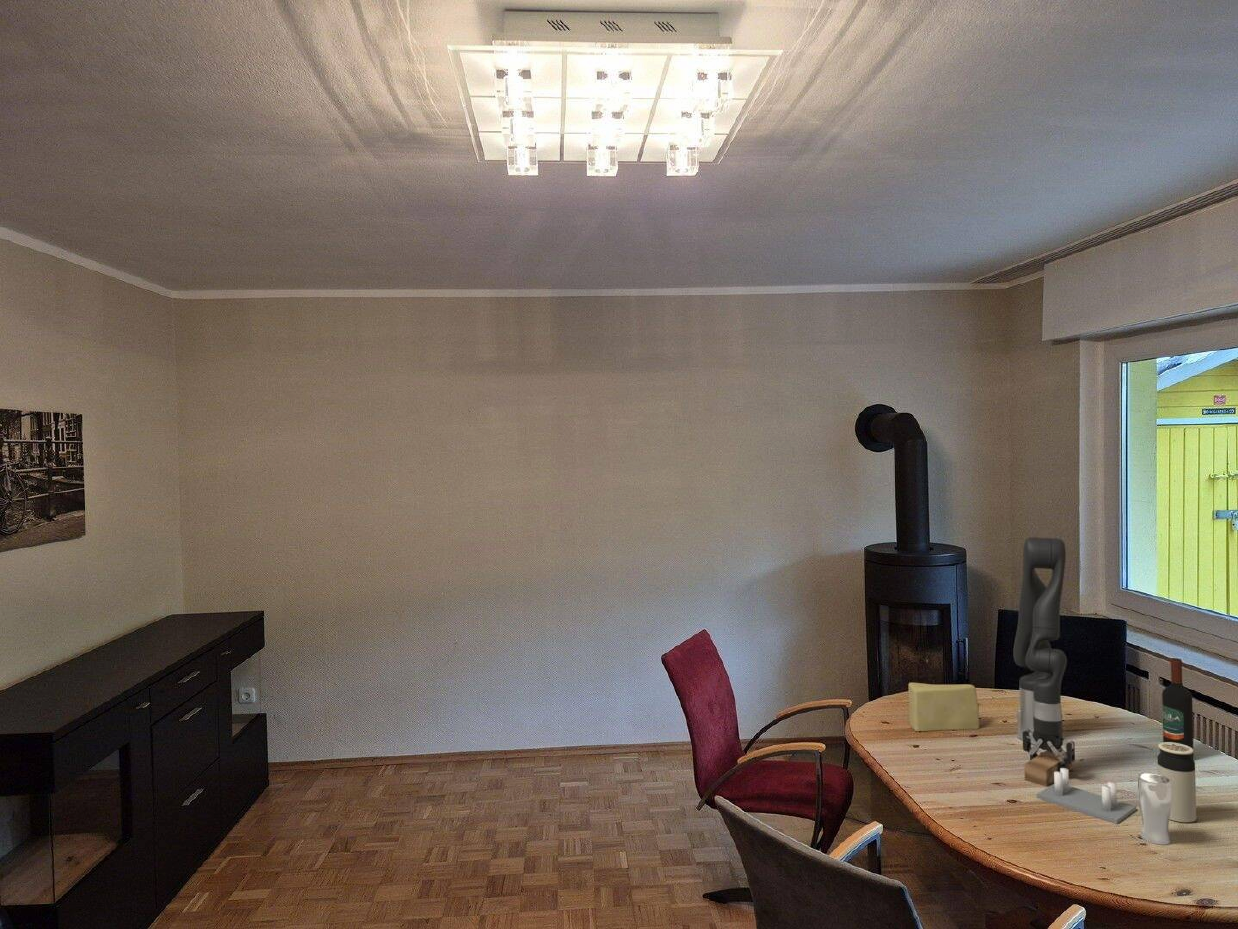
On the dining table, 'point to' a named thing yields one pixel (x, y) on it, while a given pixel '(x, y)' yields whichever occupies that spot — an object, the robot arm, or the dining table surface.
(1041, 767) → the plank
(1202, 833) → the dining table surface
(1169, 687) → the wine bottle
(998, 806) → the dining table surface
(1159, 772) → the travel mug
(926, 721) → the cheese
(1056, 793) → the peg stand
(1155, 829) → the beer glass
